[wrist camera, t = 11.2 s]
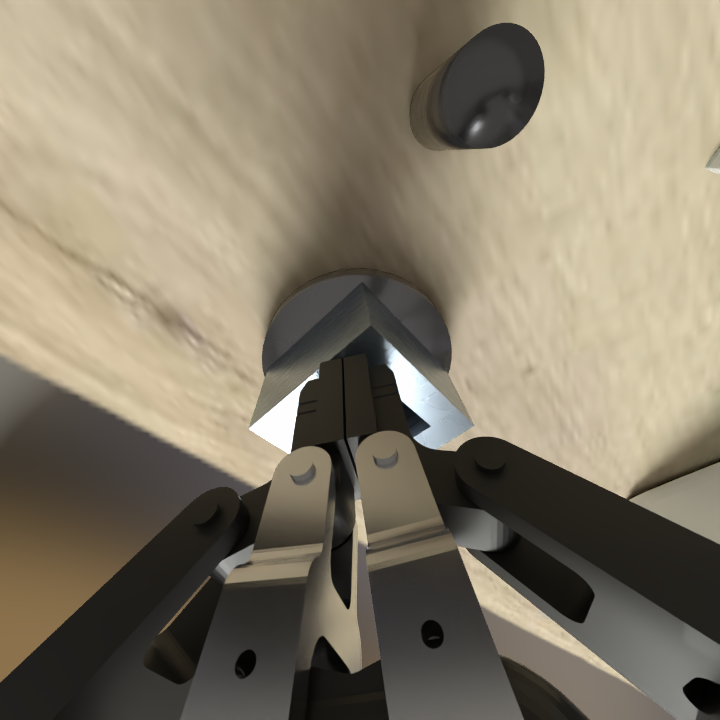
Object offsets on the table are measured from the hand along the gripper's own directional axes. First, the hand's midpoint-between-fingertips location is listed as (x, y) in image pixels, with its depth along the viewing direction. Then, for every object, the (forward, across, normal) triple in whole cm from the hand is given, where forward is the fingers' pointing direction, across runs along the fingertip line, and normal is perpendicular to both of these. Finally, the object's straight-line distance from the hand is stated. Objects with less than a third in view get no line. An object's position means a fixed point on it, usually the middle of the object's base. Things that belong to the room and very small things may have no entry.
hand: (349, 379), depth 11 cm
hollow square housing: (+4, 0, +2) cm, 5 cm away
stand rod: (+5, -5, -7) cm, 10 cm away
